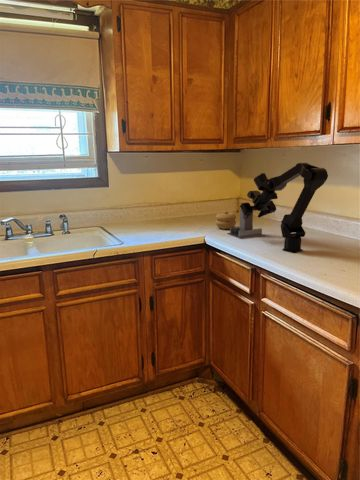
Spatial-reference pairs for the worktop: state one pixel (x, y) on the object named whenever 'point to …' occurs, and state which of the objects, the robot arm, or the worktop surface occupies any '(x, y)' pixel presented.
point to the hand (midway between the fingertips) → (251, 217)
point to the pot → (225, 220)
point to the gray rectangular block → (245, 222)
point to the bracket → (245, 233)
